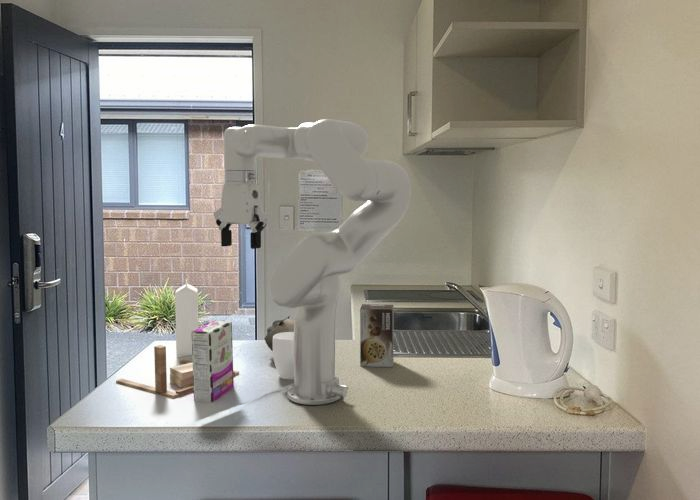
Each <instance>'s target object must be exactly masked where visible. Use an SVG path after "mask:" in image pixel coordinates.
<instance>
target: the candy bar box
mask: <svg viewBox="0 0 700 500" xmlns="http://www.w3.org/2000/svg"><path fill="white" fill-rule="evenodd" d="M191 333H192V355H191V356H192V357H191V358H192V361H193V385H194V391H193V401H198V402H207V403H214V402H215V401H217V400H218V399H219V398H221V397H222V396H223V395H225V394H226V393H228V392H229V391H230V390H232V389H233V388H234V376H233V370H234V355H233V353H234V352H233V349H234V348H233V322H232V321H229V320H227V321H226V320H213V321H211V322H209V323H207V324H205V325H202V326H199V328H198V329H196V330H194V331H192V332H191Z"/></svg>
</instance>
